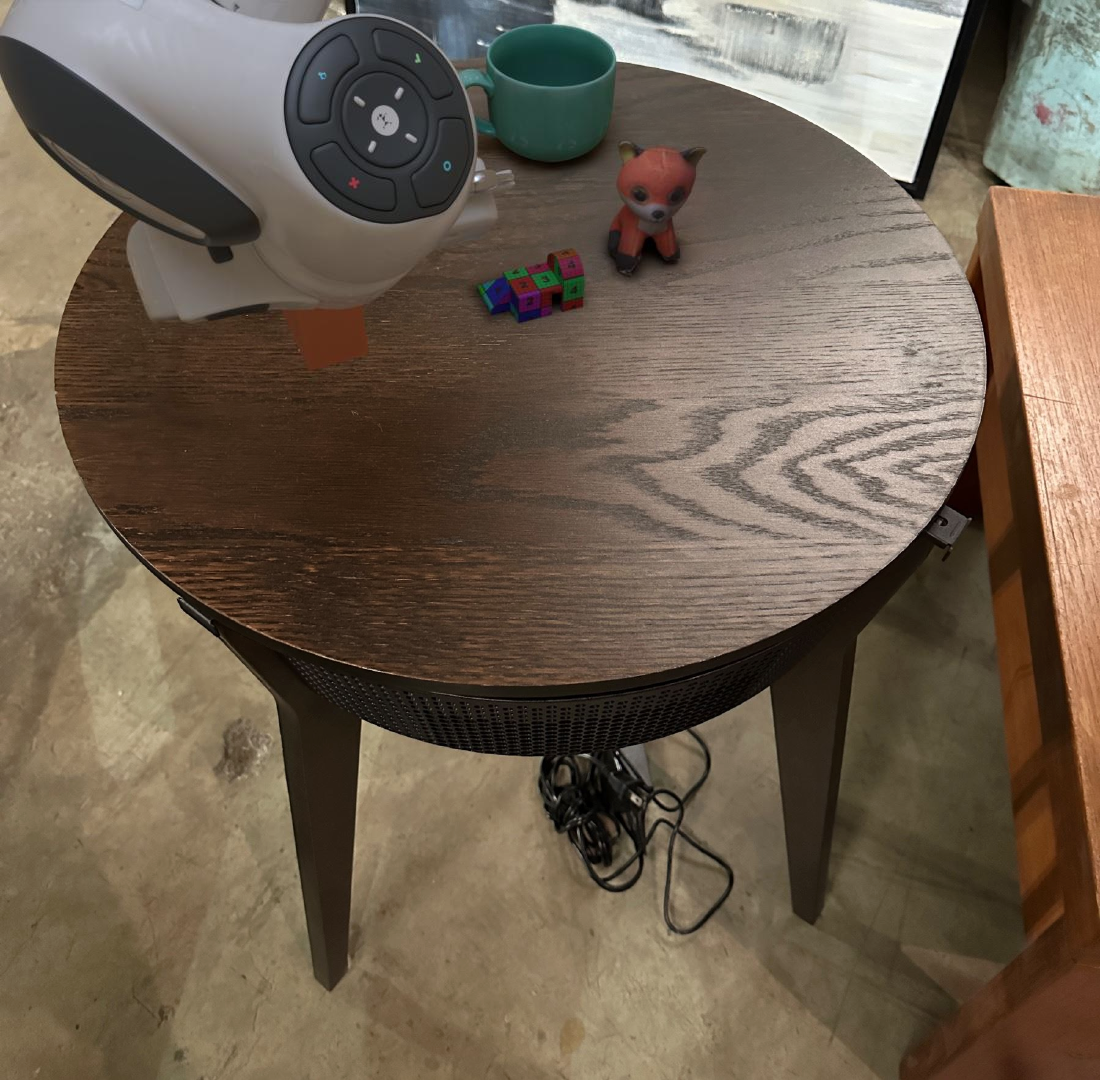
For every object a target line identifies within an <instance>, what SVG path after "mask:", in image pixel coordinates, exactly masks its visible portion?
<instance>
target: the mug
mask: <svg viewBox="0 0 1100 1080" xmlns="http://www.w3.org/2000/svg"><path fill="white" fill-rule="evenodd" d="M485 57H486V58H485V72H483V71H482V70H479V69H474V68H468V69H464V70H462V71H460V72H458V74H459V76H460V78H461V80H462V82H463V84H464V87H465V89H466V90H467V89H469V88H471V87H479V88H482V89H483V92H484V94H485V95H486V101H487V113H488V119H489V120H487V119H484V118H482V117H479V116H477V115H476V114H474V117H475V122H476V128H477V134H481V135H484V136H485V137H491V138H497V139H498V140H499V142H501V143H502V144H503V145H504V146H505V147H506V148H508V149H509V150H510V151H512V152H514V153H516V154H517V155H518V156H521V157H525V158H528V159H530V160H533V161H537V162H542V163H558V162H564V161H568V160H569V161H570V160H572V159H575V158H578V157H581V156H584V155H585V154H587V153H589V152H590V151H592V150H593V149H594V148H595V147H597V146H598V145H599V143H601V141H602V140H603V138H604V137H605V135H606V133H607V131H608V128H609V125H610V123H611V119H612V114H613V106H614V98H615V87H616V75H617V55H616V52H615V50H614V49H613V47H612V46H611V45H610V43H609V42H607V40H605V39H604V38H602V37H601V36H600V35H598V34H595V33H593V32H592V31H589V30H586V29H583V28H580V27H577V26H572V25H566V24H558V23H536V24H535V23H534V24H528V25H523V26H522V25H521V26H518V27H515V28H512V29H510V30H507V31H505V32H503V33H501V34H500V35H498V36H497V37H495V39H493V40H492V41H491V43H490V44H489V45H488V47H487V50H486V56H485Z"/></svg>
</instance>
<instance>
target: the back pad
mask: <svg viewBox="0 0 1100 1080" xmlns="http://www.w3.org/2000/svg"><path fill="white" fill-rule="evenodd" d="M363 309H364V308H363V305H361V306H357V307H353V308H348V309H322V308H315V309H312V310H281V312H282V314H283V316H284V319H285V321H286V323H287V325H288V327H289V330H290V332H291V334H292V337H293V338H294V341H295V343H296V345H297V347H298V349H299V352H300V355H301V356H302V359H303V360H304V363H305V365H306V367H307V370H308V372H311V371H315V370H318V369H321V368H322V369H323V368H325V367H329V366H332V365H336V364H340V363H344V362H346V361H351V360H354V359H358V358H361V357H364V356H369V355H370V350H369V343H368V338H367V337H368V336H367V329H366V323H365V317H364V310H363Z"/></svg>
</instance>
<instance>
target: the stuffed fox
mask: <svg viewBox="0 0 1100 1080" xmlns="http://www.w3.org/2000/svg"><path fill="white" fill-rule="evenodd" d="M617 147H618V152H619V153H618V154H619V157H620V159H621V162H622V166H621V169H620V171H619V172H618V175H617V177H616V190H617V193H618V196H619V198H620V199H621V201H622V202H623V203H624V204H623V206H622V207H621V208H620V210H619V211H618V212H617V214H616V215H615V217H614V218H613V220H612V222H611V224H610V227H609V232H608V241H607V248H608V251H609V252H610V254H611V256H612V257H613V258H614V259H615V265H616V266H615V267H616V270H617V271H619V273H622V275H624V276H626V277H632V271H633V270H634V269H635V267H636V266H637V264H638V263H639V262H640V260H641V258H642V250H643V247H644V243H645V241H646V239H648V238H650V239H651V240H652V241H653V243H654V244H656V250H657V252H659V254H660V255H661V256H662V258H663V260H665V261H666V262H670V261H673V260H674V261H678V262H679V261H681V249H680V246H679V242H677V238H676V232H675V227H674V222H673V217H674V216H675V215H676V214H677V213H678V212H679V211H680V210H681V208H682V207H683V206H684V205H685V203H686V202H687V201H688V198H689V197H690V195H691V193H692V190H693V188H694V185H695V181H696V177H697V166H698V164H699V163H700V160H701V159H702V157H703V156H704V155H705V154H706V153H707V152H708V150H709V149H708V148H707V147H703V146H695V147H691V148H689V149H686V150H683V151H680V150H679V149H676V148H673V147H670V146H667V145H657V146H652V147H647V148H641V147H640V146H638V145H637V144H636V143H634V142H632V141H629V140H623V141H619V142H618V143H617Z"/></svg>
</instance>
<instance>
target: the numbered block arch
mask: <svg viewBox="0 0 1100 1080" xmlns="http://www.w3.org/2000/svg"><path fill="white" fill-rule="evenodd" d="M584 269H585V268H584V266H583V262H582V260H581V257H580V255H579V253H578V251H577V250H576V249H575V248H573V247H571V248H567V249H563V250H559V251H554V252H550V253H548V255H547V257H546V262H542V263H538V264H534V265H529V266H526V267H522V268H521V267H520V268H517V269H513V270H509V271H504V272H502V277H499V278H497V279H493V280H490V281H488V282H485V283H482V284H480V285H477V286H476V287H477V288H476V289H477V290H476V291H477V293H478V294H479V296H480V298H481V299H482V301H483V302H484V305H485V306H486V308H487V309H488V312H489V313H490V315H491V316H492V315H496V314H501V313H505V312H509V311H510V312H511V314H512V315H513V317H514V318H515V320H516V322H517V324H521V323H524V322H529V321H531V320H536V319H539V318H543V317H547V316H550V315H552V304H553V303H552V300H553V295H554V294H555V295H556V294H559V293H560V311H561V313H562V312H565V311H570V310H574V309H578V308H583V307H584V299H585V297H584V295H585V281H586V280H585V270H584Z"/></svg>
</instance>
